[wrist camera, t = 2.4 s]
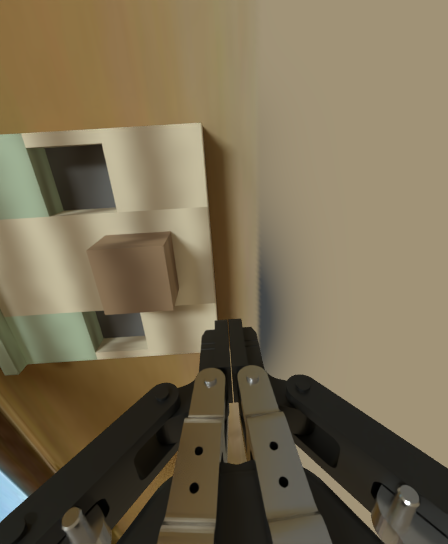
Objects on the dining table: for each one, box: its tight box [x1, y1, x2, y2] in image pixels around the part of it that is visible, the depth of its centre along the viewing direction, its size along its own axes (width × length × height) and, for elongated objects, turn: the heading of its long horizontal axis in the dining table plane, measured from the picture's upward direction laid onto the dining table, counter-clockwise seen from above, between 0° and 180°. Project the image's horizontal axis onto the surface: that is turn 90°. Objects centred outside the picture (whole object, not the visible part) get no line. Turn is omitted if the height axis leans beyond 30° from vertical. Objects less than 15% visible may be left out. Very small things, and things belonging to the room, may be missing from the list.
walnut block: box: [86, 231, 179, 315], centre depth 24 cm, size 6×6×4 cm
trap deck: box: [0, 123, 218, 375], centre depth 26 cm, size 24×23×4 cm
